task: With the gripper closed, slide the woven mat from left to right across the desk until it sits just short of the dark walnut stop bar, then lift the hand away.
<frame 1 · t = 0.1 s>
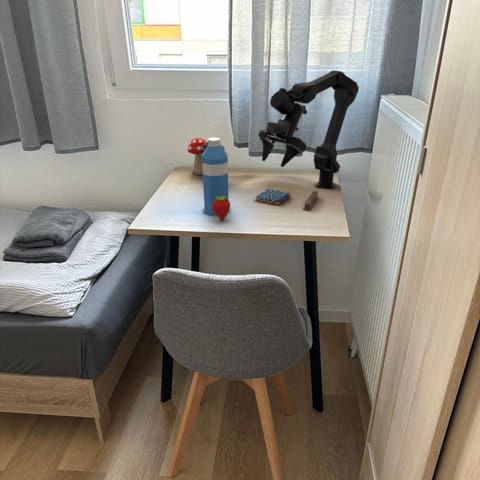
hand: (272, 163, 173), 15 cm above the table, tool tilted 30°, fingers open, 9 cm apart
woven mat: (272, 199, 186), on the table
stop bar: (311, 203, 182), on the table
strawberry: (221, 221, 168), on the table
water bottle: (216, 211, 176), on the table
coffee cup: (213, 180, 205), on the table
decorative mushroom: (200, 173, 213), on the table
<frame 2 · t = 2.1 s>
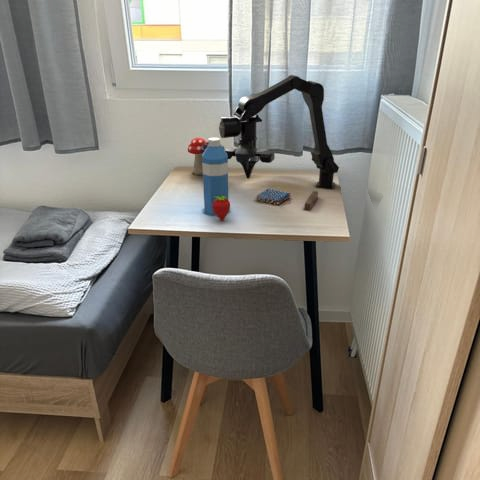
hand: (248, 178, 185), 7 cm above the table, tool pointing down, fingers closed
nothing on the table moved.
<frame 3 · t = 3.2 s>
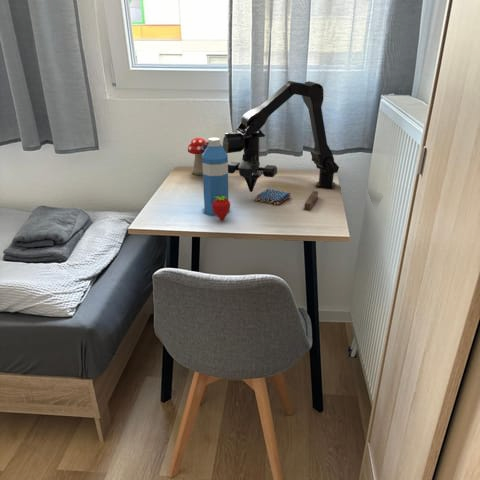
hand: (251, 191, 187), 2 cm above the table, tool pointing down, fingers closed
nothing on the table moved.
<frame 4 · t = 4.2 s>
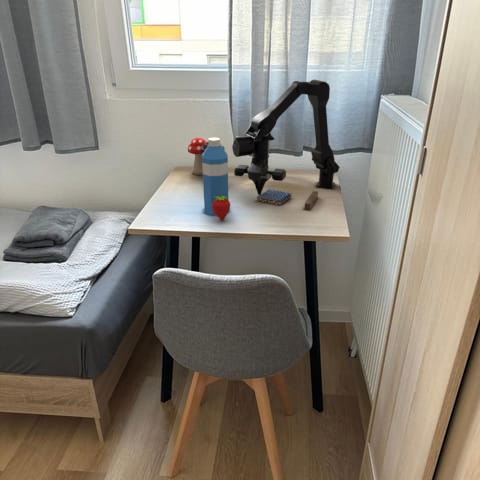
hand: (259, 194, 187), 1 cm above the table, tool pointing down, fingers closed
woven mat: (274, 199, 186), on the table, touching gripper
everything else where it was.
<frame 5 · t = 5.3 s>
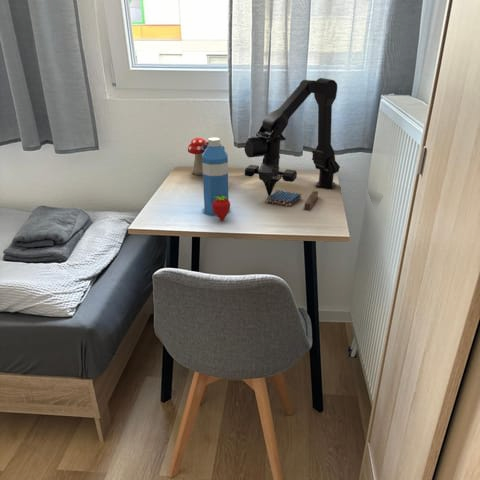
hand: (269, 195, 185), 1 cm above the table, tool pointing down, fingers closed
woven mat: (283, 201, 184), on the table, touching gripper
everything else where it was.
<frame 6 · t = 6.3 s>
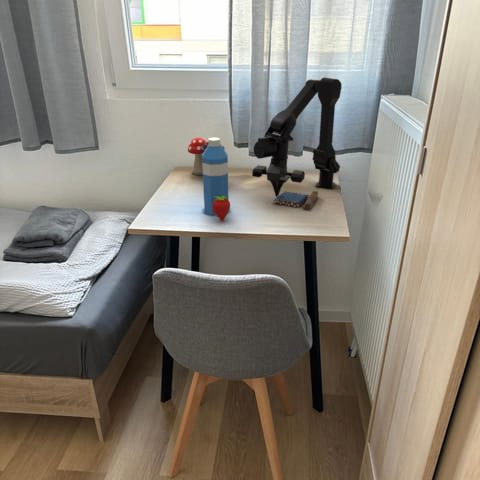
hand: (276, 196, 184), 1 cm above the table, tool pointing down, fingers closed
woven mat: (291, 201, 184), on the table, touching gripper
everything else where it was.
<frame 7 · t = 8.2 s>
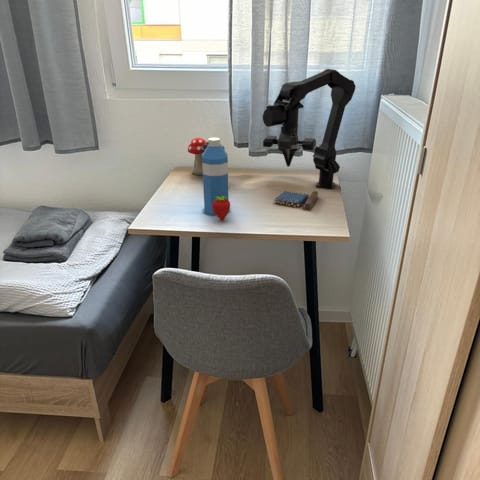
hand: (288, 166, 183), 11 cm above the table, tool pointing down, fingers closed
woven mat: (291, 201, 184), on the table
everything else where it was.
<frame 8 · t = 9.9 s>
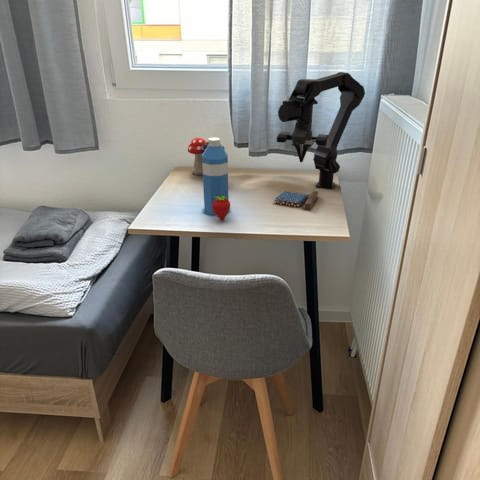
hand: (301, 162, 185), 12 cm above the table, tool pointing down, fingers closed
nothing on the table moved.
at the end: woven mat inside the target area (0.7 cm from its centre), on the table; woven mat moved 7.3 cm from its start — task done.
